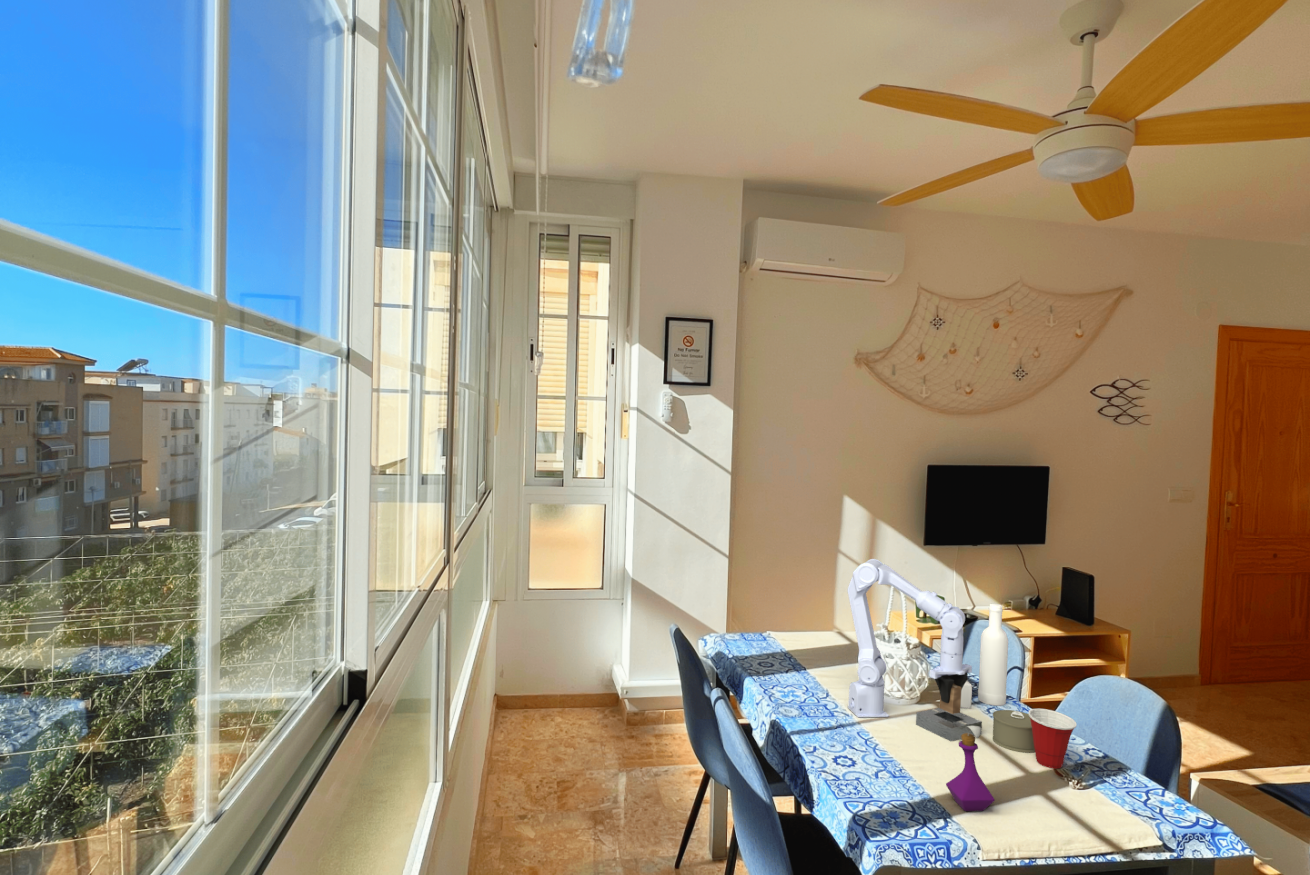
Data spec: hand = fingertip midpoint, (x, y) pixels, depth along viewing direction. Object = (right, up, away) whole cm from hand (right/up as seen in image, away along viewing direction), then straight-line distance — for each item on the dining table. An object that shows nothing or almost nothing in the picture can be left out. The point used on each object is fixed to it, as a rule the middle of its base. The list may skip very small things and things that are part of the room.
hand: (949, 700), depth 207 cm
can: (+15, -9, -8) cm, 19 cm away
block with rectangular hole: (0, -8, 0) cm, 8 cm away
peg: (0, -3, 0) cm, 3 cm away
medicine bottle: (+10, -8, +21) cm, 24 cm away
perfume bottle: (-13, -8, -43) cm, 46 cm away
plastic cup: (+17, -9, -20) cm, 28 cm away
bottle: (+22, -9, +24) cm, 34 cm away
